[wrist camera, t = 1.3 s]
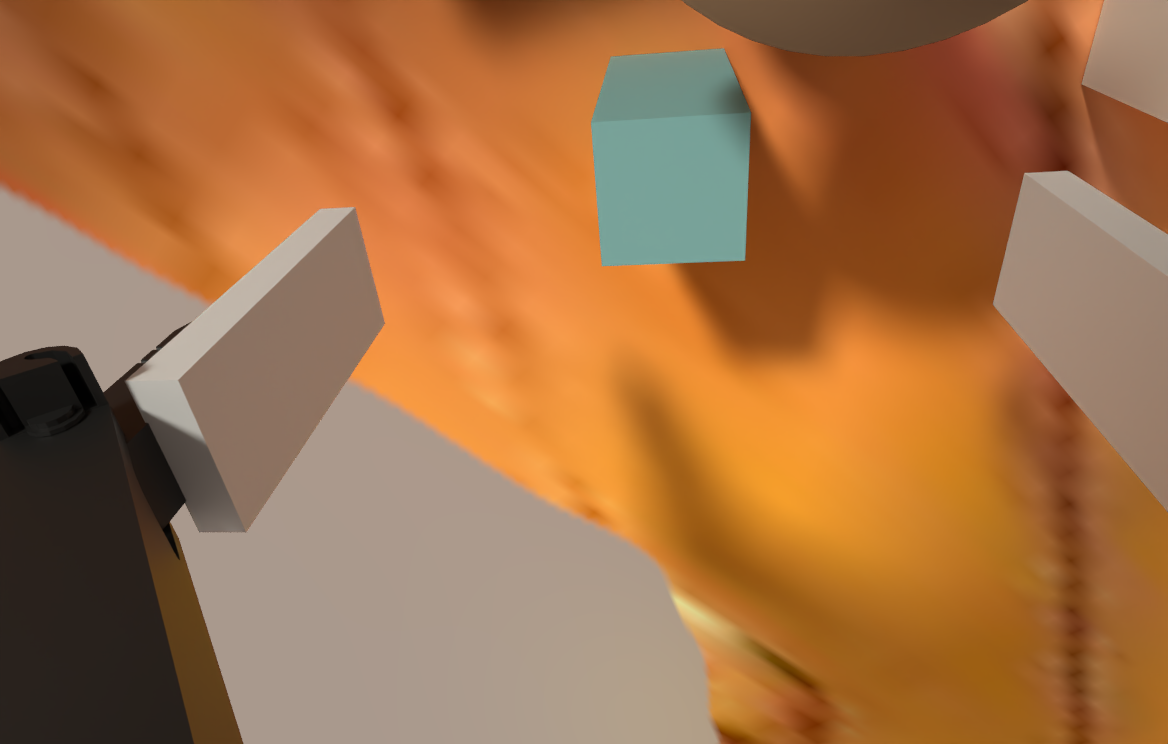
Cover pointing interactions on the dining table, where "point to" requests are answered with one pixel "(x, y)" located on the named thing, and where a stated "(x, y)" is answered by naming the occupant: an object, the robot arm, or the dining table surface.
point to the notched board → (1132, 55)
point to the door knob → (850, 22)
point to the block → (671, 159)
